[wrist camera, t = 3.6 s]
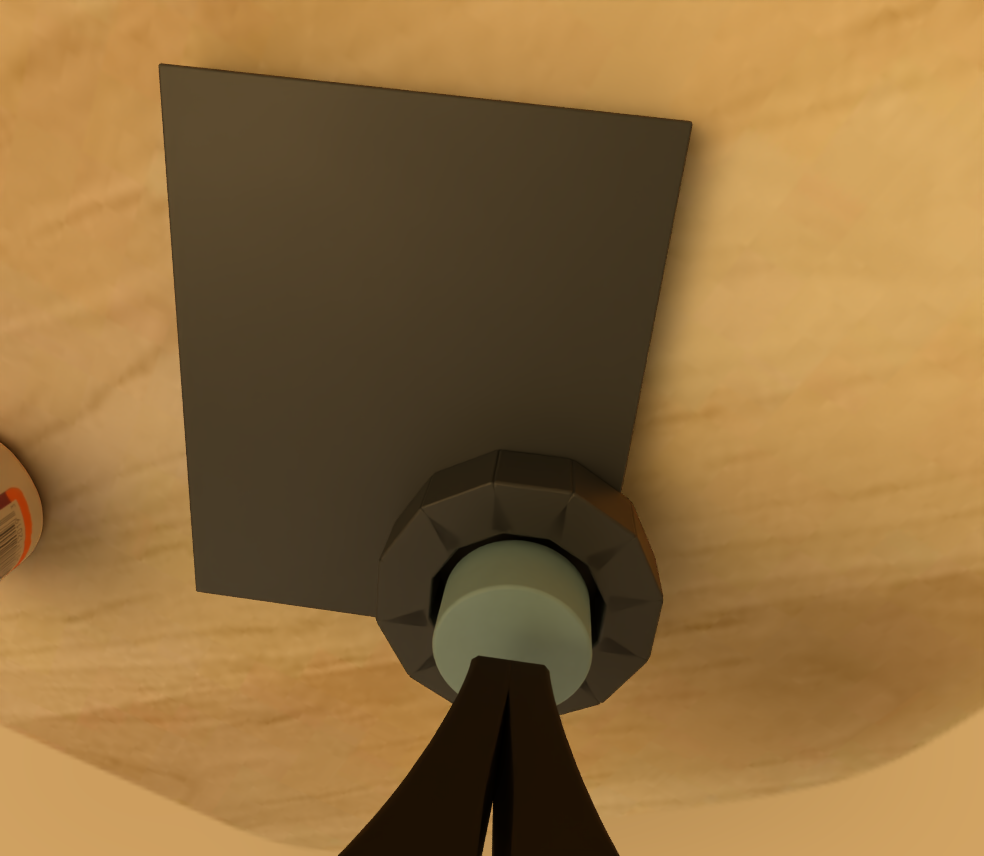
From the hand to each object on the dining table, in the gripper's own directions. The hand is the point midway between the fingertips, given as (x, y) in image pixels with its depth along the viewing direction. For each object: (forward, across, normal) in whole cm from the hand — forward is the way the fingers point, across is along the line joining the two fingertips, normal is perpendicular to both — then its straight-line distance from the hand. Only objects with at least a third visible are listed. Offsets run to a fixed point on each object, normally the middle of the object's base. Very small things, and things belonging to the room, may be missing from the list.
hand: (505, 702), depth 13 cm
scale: (+6, +3, -4) cm, 8 cm away
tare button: (+3, 0, 0) cm, 3 cm away
